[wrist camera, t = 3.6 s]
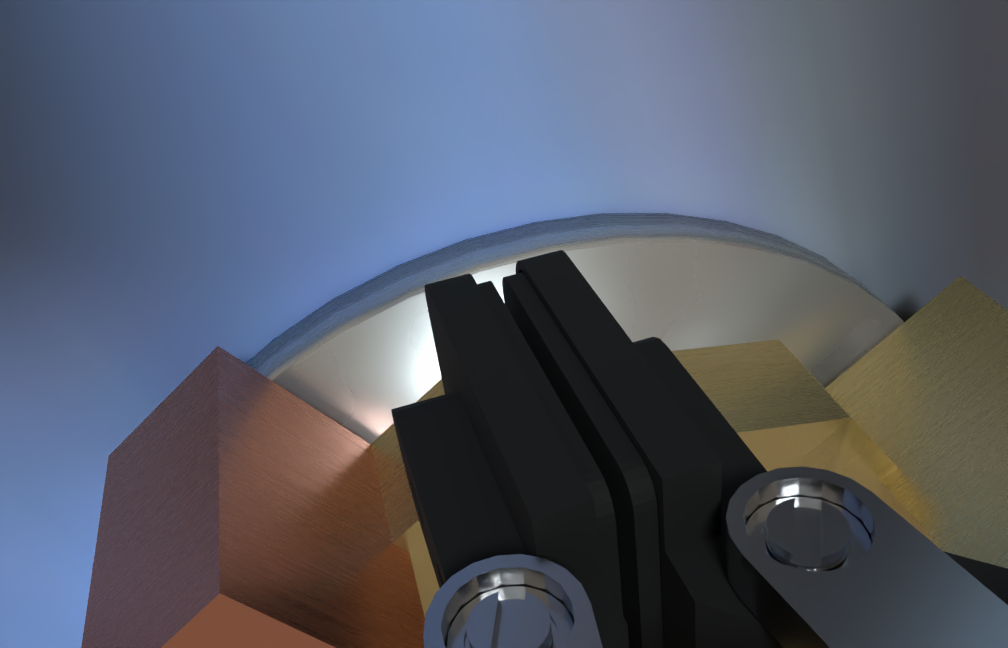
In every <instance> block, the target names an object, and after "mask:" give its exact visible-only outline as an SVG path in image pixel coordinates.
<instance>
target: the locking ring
mask: <svg viewBox="0 0 1008 648" xmlns="http://www.w3.org/2000/svg"><path fill="white" fill-rule="evenodd" d="M672 353H673V354H674V355H675V356H676V358H677V359H678V360H679V361H680V363H681V364H682V365H683V366H684V368H685V369H686V370H687V371H688V373H689V374H690V375H691V376H692V378H693V379H694V380H695V381H696V383H697V384H698V385H699V386H700V388H701V389H702V390H703V391H704V393H705V394H706V395H707V396H708V398H709V399H710V400H711V401H712V403H713V404H714V405H715V406H716V408H717V409H718V410H719V411H720V413H721V414H722V415H723V416H724V418H725V419H726V420H727V421H728V423H729V424H730V425H731V426H732V428H733V429H734V430H735V431H736V433H737V434H738V435H739V436H740V438H741V439H742V440H743V441H744V443H745V444H746V445H747V447H748V448H749V449H750V450H751V452H752V453H753V454H754V455H755V457H756V458H757V459H758V460H759V462H760V463H761V464H762V465H763V467H764V468H765V469H766V470H767V471H771V470H774V469H777V468H786V467H802V466H804V467H811V468H818V469H824V470H829V471H832V472H835V473H838V474H840V475H843V476H846V477H849V478H851V479H853V480H854V481H856V482H858V483H859V484H861V485H862V486H864V487H865V488H867V489H868V490H870V491H872V492H873V493H874V494H875V495H876V496H878V497H879V498H880V499H881V500H882V501H884V502H885V503H886V504H887V505H888V506H890V507H891V508H892V509H893V510H894V511H896V512H897V513H898V514H899V515H900V516H902V517H903V518H904V519H905V520H906V521H908V522H909V523H910V524H911V525H912V526H914V527H915V528H916V529H917V530H918V531H920V532H921V533H922V534H923V535H924V536H926V537H927V538H928V539H929V540H930V541H931V542H933V543H934V544H935V545H936V546H937V547H939V548H940V549H941V550H942V551H944V552H948V553H952V554H955V555H959V556H963V557H966V558H970V559H974V560H978V561H981V562H985V563H989V564H993V565H996V566H1000V567H1004V568H1008V311H1007V310H1006V309H1005V308H1003V307H1002V306H1001V305H999V304H998V303H996V302H995V301H994V300H992V299H991V298H990V297H988V296H987V295H986V294H984V293H983V292H982V291H980V290H979V289H977V288H976V287H975V286H973V285H972V284H971V283H969V282H968V281H967V280H965V279H964V278H963V277H961V276H960V277H959V278H957V279H956V280H955V281H954V282H953V283H951V284H950V285H949V286H948V287H947V288H945V289H944V290H943V291H942V292H941V293H939V294H938V295H937V296H936V297H934V298H933V299H932V300H931V301H930V302H928V303H927V304H926V305H925V306H924V307H922V308H921V309H920V310H919V311H918V312H916V313H915V314H914V315H913V316H912V317H910V318H909V319H908V320H907V321H906V322H904V323H903V324H902V325H901V326H900V327H898V328H897V329H896V330H895V331H893V332H892V333H891V334H890V335H889V336H887V337H886V338H885V339H884V340H883V341H881V342H880V343H879V344H878V345H877V346H875V347H874V348H873V349H872V350H871V351H869V352H868V353H867V354H866V355H865V356H863V357H862V358H861V359H860V360H859V361H857V362H856V363H855V364H854V365H852V366H851V367H850V368H849V369H848V370H846V371H845V372H844V373H843V374H842V375H840V376H839V377H838V378H837V379H836V380H834V381H833V382H832V383H831V384H830V385H828V386H827V387H826V388H824V387H823V386H822V385H821V384H820V383H819V382H818V381H817V379H816V378H815V377H814V376H813V375H812V374H811V373H810V372H809V371H808V370H807V369H806V368H805V367H804V365H803V364H802V363H801V362H800V361H799V360H798V359H797V358H796V357H795V356H794V355H793V354H792V353H791V352H790V350H789V349H788V348H787V347H786V346H785V345H784V344H783V343H782V342H781V341H780V340H769V341H760V342H751V343H741V344H732V345H723V346H713V347H704V348H695V349H686V350H676V351H672ZM441 395H445V393H444V388H443V382H442V378H441V379H440V380H439V381H438V382H437V383H436V384H435V385H434V386H433V387H432V388H431V389H430V390H429V391H427V392H426V393H425V394H424V395H423V396H422V397H421V398H420V399H419V400H418V401H417V402H420V401H423V400H427V399H430V398H434V397H438V396H441ZM439 589H440V588H439V585H438V581H437V578H436V575H435V571H434V568H433V565H432V562H431V558H430V555H429V552H428V548H427V545H426V542H425V539H424V535H423V532H422V529H421V525H420V522H419V519H418V515H417V511H416V508H415V504H414V501H413V497H412V493H411V490H410V486H409V482H408V479H407V475H406V471H405V467H404V463H403V459H402V455H401V451H400V447H399V442H398V438H397V434H396V430H395V426H394V423H393V424H392V425H391V426H390V427H389V428H388V429H387V430H385V431H384V432H383V433H382V434H381V435H380V436H379V437H378V438H377V439H376V440H375V441H374V442H373V443H372V444H369V443H368V442H366V441H365V440H363V439H362V438H360V437H359V436H357V435H355V434H354V433H352V432H351V431H349V430H348V429H346V428H345V427H343V426H341V425H340V424H338V423H337V422H335V421H334V420H332V419H331V418H329V417H327V416H326V415H324V414H323V413H321V412H320V411H318V410H317V409H315V408H313V407H312V406H310V405H309V404H307V403H306V402H304V401H303V400H301V399H299V398H298V397H296V396H295V395H293V394H292V393H290V392H289V391H287V390H285V389H284V388H282V387H281V386H279V385H278V384H276V383H275V382H273V381H271V380H270V379H268V378H267V377H265V376H264V375H262V374H261V373H259V372H257V371H256V370H254V369H253V368H251V367H250V366H248V365H247V364H245V363H243V362H242V361H240V360H239V359H237V358H236V357H234V356H233V355H231V354H229V353H228V352H226V351H225V350H223V349H222V348H220V347H219V346H217V347H216V348H215V349H214V350H213V351H212V352H211V353H210V354H209V355H208V356H207V357H206V358H205V359H204V360H203V362H202V363H201V364H200V365H199V366H198V367H197V368H196V369H195V370H194V371H193V372H192V373H191V374H190V375H189V376H188V377H187V378H186V379H185V380H184V381H183V382H182V383H181V384H180V385H179V386H178V387H177V388H176V389H175V390H174V391H173V392H172V393H171V394H170V395H169V396H168V397H167V398H166V399H165V400H164V401H163V402H162V403H161V404H160V405H159V406H158V407H157V408H156V409H155V410H154V411H153V412H152V413H151V414H150V415H149V416H148V417H147V418H146V419H145V420H144V421H143V422H142V423H141V424H140V425H139V426H138V427H137V428H136V429H135V430H134V431H133V432H132V433H131V434H130V435H129V436H128V437H127V438H126V439H125V440H124V441H123V442H122V443H121V444H120V445H119V446H118V447H117V448H116V449H115V450H114V451H113V452H112V453H111V454H110V455H109V458H108V465H107V472H106V479H105V486H104V493H103V500H102V507H101V514H100V521H99V528H98V535H97V542H96V549H95V556H94V563H93V570H92V577H91V584H90V591H89V598H88V605H87V612H86V619H85V626H84V633H83V640H82V647H81V648H424V639H423V633H424V623H425V614H426V612H427V610H428V608H429V606H430V604H431V601H432V599H433V597H434V595H435V593H436V592H437V591H438V590H439Z"/></svg>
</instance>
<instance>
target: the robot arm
mask: <svg viewBox="0 0 1008 648" xmlns="http://www.w3.org/2000/svg"><path fill="white" fill-rule="evenodd" d="M502 287H503V295H504V302H505V303H504V302H503V300H502V298H501V296H500V295H499V293H498V291H497V289H496V288H495V286H494V284H493V283H492V281H487V282H483V283H479V284H477V283H476V281H475V279H474V278H473V276H472V275H471V274H465V275H461V276H457V277H453V278H449V279H445V280H442V281H438V282H434V283H430V284H426V285H425V287H424V288H425V296H426V302H427V307H428V312H429V317H430V322H431V327H432V332H433V337H434V342H435V347H436V352H437V357H438V362H439V367H440V372H441V377H442V382H443V388H444V393H445V395H441V396H438V397H434V398H430V399H427V400H423V401H420V402H416V403H412V404H409V405H405V406H402V407H398V408H394V409H391V412H392V417H393V422H394V426H395V430H396V434H397V438H398V442H399V447H400V451H401V455H402V459H403V463H404V467H405V471H406V475H407V479H408V482H409V486H410V490H411V493H412V497H413V501H414V504H415V508H416V511H417V515H418V519H419V522H420V525H421V529H422V532H423V535H424V539H425V542H426V545H427V548H428V552H429V555H430V558H431V562H432V565H433V568H434V571H435V575H436V578H437V581H438V585H439V588H440V589H439V590H438V591H437V592H436V593H435V595H434V597H433V599H432V601H431V604H430V606H429V608H428V610H427V612H426V614H425V623H424V633H423V639H424V648H1008V568H1004V567H1000V566H996V565H993V564H989V563H985V562H981V561H978V560H974V559H970V558H966V557H963V556H959V555H955V554H952V553H948V552H944V551H942V550H941V549H940V548H939V547H937V546H936V545H935V544H934V543H933V542H931V541H930V540H929V539H928V538H927V537H926V536H924V535H923V534H922V533H921V532H920V531H918V530H917V529H916V528H915V527H914V526H912V525H911V524H910V523H909V522H908V521H906V520H905V519H904V518H903V517H902V516H900V515H899V514H898V513H897V512H896V511H894V510H893V509H892V508H891V507H890V506H888V505H887V504H886V503H885V502H884V501H882V500H881V499H880V498H879V497H878V496H876V495H875V494H874V493H873V492H872V491H870V490H868V489H867V488H865V487H864V486H862V485H861V484H859V483H858V482H856V481H854V480H853V479H851V478H849V477H846V476H843V475H840V474H838V473H835V472H832V471H829V470H824V469H818V468H811V467H804V466H802V467H786V468H777V469H774V470H771V471H767V470H766V469H765V468H764V467H763V465H762V464H761V463H760V462H759V460H758V459H757V458H756V457H755V455H754V454H753V453H752V452H751V450H750V449H749V448H748V447H747V445H746V444H745V443H744V441H743V440H742V439H741V438H740V436H739V435H738V434H737V433H736V431H735V430H734V429H733V428H732V426H731V425H730V424H729V423H728V421H727V420H726V419H725V418H724V416H723V415H722V414H721V413H720V411H719V410H718V409H717V408H716V406H715V405H714V404H713V403H712V401H711V400H710V399H709V398H708V396H707V395H706V394H705V393H704V391H703V390H702V389H701V388H700V386H699V385H698V384H697V383H696V381H695V380H694V379H693V378H692V376H691V375H690V374H689V373H688V371H687V370H686V369H685V368H684V366H683V365H682V364H681V363H680V361H679V360H678V359H677V358H676V356H675V355H674V354H673V353H672V351H671V350H670V349H669V348H668V346H667V345H666V344H665V343H664V342H663V341H662V340H661V339H660V338H657V337H650V338H646V339H643V340H639V341H636V342H632V341H631V339H630V338H629V337H628V335H627V334H626V333H625V331H624V330H623V329H622V327H621V326H620V325H619V323H618V322H617V321H616V319H615V318H614V317H613V315H612V314H611V313H610V311H609V310H608V309H607V307H606V306H605V305H604V303H603V302H602V300H601V299H600V298H599V296H598V295H597V294H596V292H595V291H594V290H593V288H592V287H591V286H590V284H589V283H588V282H587V280H586V279H585V278H584V276H583V275H582V274H581V272H580V271H579V270H578V268H577V267H576V266H575V264H574V263H573V262H572V260H571V259H570V258H569V256H568V255H567V254H566V253H565V252H564V251H563V250H558V251H555V252H551V253H547V254H543V255H539V256H535V257H531V258H527V259H523V260H519V261H517V263H516V274H514V275H510V276H506V277H503V279H502Z"/></svg>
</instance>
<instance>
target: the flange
mask: <svg viewBox="0 0 1008 648" xmlns="http://www.w3.org/2000/svg"><path fill="white" fill-rule="evenodd" d="M558 250H563V251H564V252H565V253H566V254H567V255H568V256H569V258H570V259H571V260H572V262H573V263H574V264H575V266H576V267H577V268H578V270H579V271H580V272H581V274H582V275H583V276H584V278H585V279H586V280H587V282H588V283H589V284H590V286H591V287H592V288H593V290H594V291H595V292H596V294H597V295H598V296H599V298H600V299H601V300H602V302H603V303H604V305H605V306H606V307H607V309H608V310H609V311H610V313H611V314H612V315H613V317H614V318H615V319H616V321H617V322H618V323H619V325H620V326H621V327H622V329H623V330H624V331H625V333H626V334H627V335H628V337H629V338H630V339H631V341H632V342H636V341H639V340H643V339H646V338H650V337H657V338H660V339H661V340H662V341H663V342H664V343H665V344H666V345H667V346H668V348H669V349H670V350H671V351H676V350H686V349H695V348H704V347H713V346H723V345H732V344H741V343H751V342H760V341H769V340H780V341H781V342H782V343H783V344H784V345H785V346H786V347H787V348H788V349H789V350H790V352H791V353H792V354H793V355H794V356H795V357H796V358H797V359H798V360H799V361H800V362H801V363H802V364H803V365H804V367H805V368H806V369H807V370H808V371H809V372H810V373H811V374H812V375H813V376H814V377H815V378H816V379H817V381H818V382H819V383H820V384H821V385H822V386H823V387H824V388H826V387H827V386H828V385H830V384H831V383H832V382H833V381H834V380H836V379H837V378H838V377H839V376H840V375H842V374H843V373H844V372H845V371H846V370H848V369H849V368H850V367H851V366H852V365H854V364H855V363H856V362H857V361H859V360H860V359H861V358H862V357H863V356H865V355H866V354H867V353H868V352H869V351H871V350H872V349H873V348H874V347H875V346H877V345H878V344H879V343H880V342H881V341H883V340H884V339H885V338H886V337H887V336H889V335H890V334H891V333H892V332H893V331H895V330H896V329H897V328H898V327H900V326H901V325H902V324H903V323H904V321H903V320H902V319H901V318H900V317H899V316H898V315H897V314H896V313H895V312H894V311H892V310H891V309H890V308H889V307H888V306H887V305H885V304H884V303H883V302H882V301H881V300H880V299H878V298H877V297H876V296H875V295H874V294H873V293H871V292H870V291H869V290H868V289H867V288H866V287H865V286H863V285H862V284H861V283H860V282H858V281H857V280H855V279H854V278H852V277H851V276H850V275H848V274H847V273H845V272H844V271H843V270H841V269H840V268H838V267H837V266H835V265H834V264H833V263H831V262H830V261H828V260H827V259H826V258H824V257H822V256H820V255H818V254H816V253H814V252H812V251H809V250H807V249H805V248H803V247H801V246H799V245H797V244H794V243H792V242H790V241H788V240H786V239H784V238H782V237H780V236H777V235H773V234H770V233H766V232H763V231H759V230H756V229H752V228H749V227H745V226H742V225H738V224H735V223H731V222H727V221H722V220H714V219H707V218H699V217H692V216H684V215H676V214H669V213H602V214H594V215H587V216H579V217H571V218H564V219H556V220H548V221H541V222H534V223H530V224H526V225H522V226H518V227H514V228H510V229H506V230H502V231H498V232H494V233H490V234H486V235H482V236H478V237H474V238H470V239H467V240H463V241H461V242H458V243H456V244H453V245H450V246H448V247H445V248H442V249H440V250H437V251H435V252H432V253H429V254H427V255H424V256H421V257H419V258H416V259H414V260H411V261H408V262H406V263H403V264H400V265H398V266H396V267H394V268H392V269H390V270H388V271H386V272H384V273H382V274H380V275H378V276H376V277H375V278H373V279H371V280H369V281H367V282H365V283H363V284H361V285H359V286H357V287H355V288H353V289H351V290H349V291H348V292H346V293H344V294H342V295H340V296H338V297H336V298H334V299H332V300H331V301H329V302H328V303H326V304H325V305H324V306H322V307H321V308H319V309H318V310H316V311H315V312H313V313H312V314H310V315H309V316H307V317H306V318H304V319H303V320H301V321H300V322H298V323H297V324H295V325H294V326H292V327H291V328H290V329H288V330H287V331H285V332H284V333H282V334H281V335H279V336H278V337H276V338H275V339H274V340H272V341H271V342H270V343H269V344H268V345H267V346H266V347H264V348H263V349H262V350H261V351H260V352H259V353H258V354H256V355H255V356H254V357H253V358H252V359H251V360H250V361H248V362H247V363H246V364H247V365H248V366H250V367H251V368H253V369H254V370H256V371H257V372H259V373H261V374H262V375H264V376H265V377H267V378H268V379H270V380H271V381H273V382H275V383H276V384H278V385H279V386H281V387H282V388H284V389H285V390H287V391H289V392H290V393H292V394H293V395H295V396H296V397H298V398H299V399H301V400H303V401H304V402H306V403H307V404H309V405H310V406H312V407H313V408H315V409H317V410H318V411H320V412H321V413H323V414H324V415H326V416H327V417H329V418H331V419H332V420H334V421H335V422H337V423H338V424H340V425H341V426H343V427H345V428H346V429H348V430H349V431H351V432H352V433H354V434H355V435H357V436H359V437H360V438H362V439H363V440H365V441H366V442H368V443H369V444H372V443H373V442H374V441H375V440H376V439H377V438H378V437H379V436H380V435H381V434H382V433H383V432H384V431H385V430H387V429H388V428H389V427H390V426H391V425H392V424H393V423H394V422H393V417H392V412H391V409H394V408H398V407H402V406H405V405H409V404H412V403H416V402H417V401H418V400H419V399H420V398H421V397H422V396H423V395H424V394H425V393H426V392H427V391H429V390H430V389H431V388H432V387H433V386H434V385H435V384H436V383H437V382H438V381H439V380H440V379H441V378H442V377H441V372H440V367H439V362H438V357H437V352H436V347H435V342H434V337H433V332H432V327H431V322H430V317H429V312H428V307H427V302H426V296H425V288H424V287H425V285H426V284H430V283H434V282H438V281H442V280H445V279H449V278H453V277H457V276H461V275H465V274H471V275H472V276H473V278H474V279H475V281H476V283H477V284H479V283H483V282H487V281H492V283H493V284H494V286H495V288H496V289H497V291H498V293H499V295H500V296H501V298H502V300H503V302H504V295H503V287H502V279H503V277H506V276H510V275H514V274H516V263H517V261H519V260H523V259H527V258H531V257H535V256H539V255H543V254H547V253H551V252H555V251H558ZM504 303H505V302H504Z"/></svg>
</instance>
